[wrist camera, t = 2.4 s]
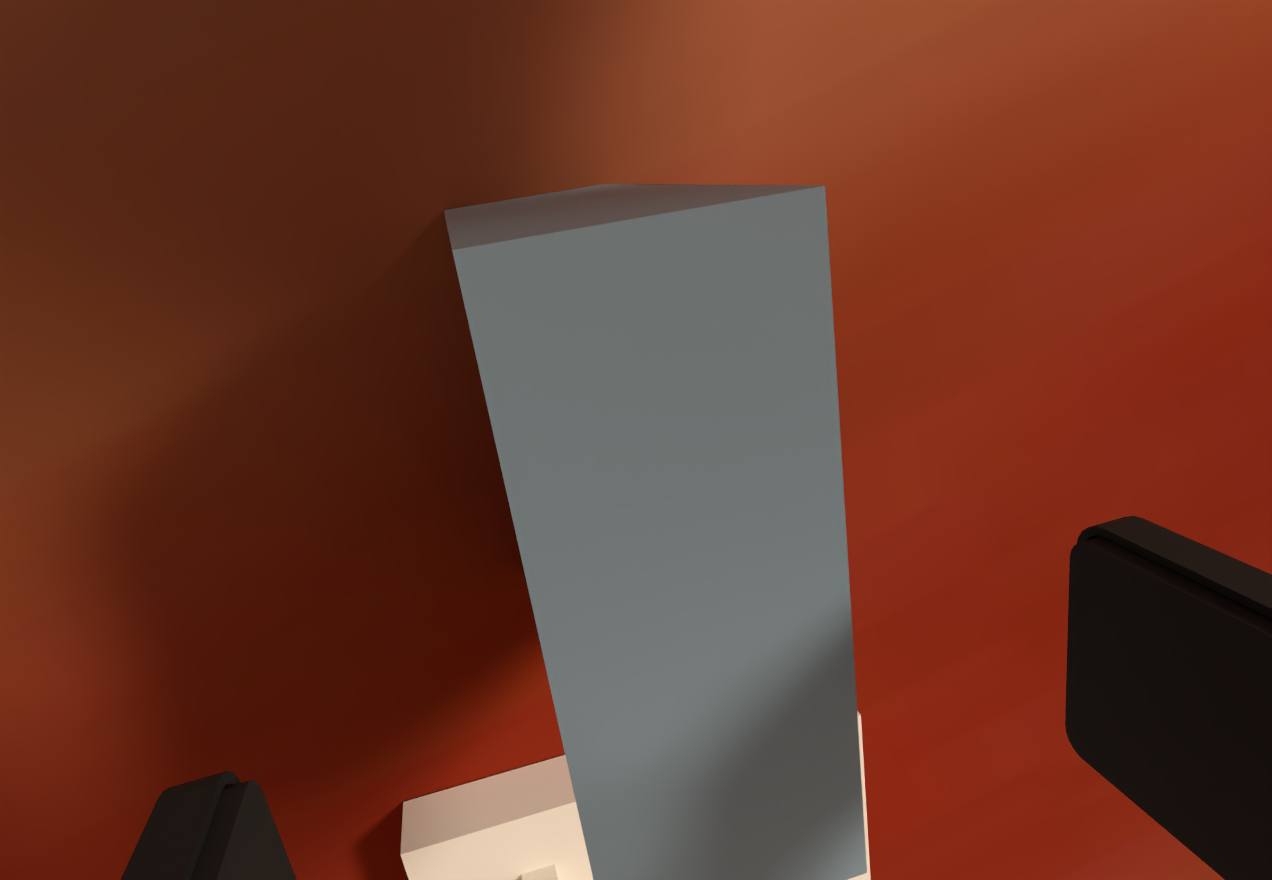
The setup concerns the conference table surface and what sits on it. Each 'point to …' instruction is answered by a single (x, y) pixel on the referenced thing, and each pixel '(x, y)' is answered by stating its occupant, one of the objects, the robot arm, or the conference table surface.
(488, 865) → the cream railed panel
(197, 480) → the conference table surface
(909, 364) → the conference table surface
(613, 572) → the gray rectangular block
